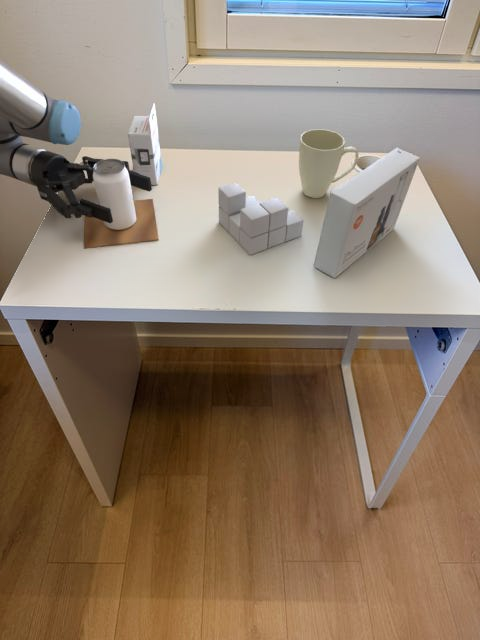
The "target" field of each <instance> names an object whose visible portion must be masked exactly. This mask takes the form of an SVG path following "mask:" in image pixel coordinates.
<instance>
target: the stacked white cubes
mask: <svg viewBox="0 0 480 640" xmlns="http://www.w3.org/2000/svg"><path fill="white" fill-rule="evenodd" d="M217 191H218V223H219V224H220V225H221V226H222V227H223V228H224V229H225V230H226V232H228V234H229V235H230V236H231V237H232V238H233V239H234V240H235V241H236V242H237V243H238V244H239V245H240V247H242V248H243V250H244V251H246V253H247V254H248V255H250V256H251V255H254V254H257V253H259V252H263V251H265V250H267V249H270V248H273V247H275V246H278V245H281V244H284V243H286V242H288V241H291V240H294V239H297V238H299V237H302V235H303V230H304V229H303V228H304V223H305V222H304V221H305V220H304V218H302V216H300V215H299V214H298V213H297V212H296V211H294V210H293V209H290V210H289V207H288V206H287V205H286V204H285V203H284V202H283V201H281V199H279V198H278V197H274V198H271V199H267V200H265V201H260V200H259V199H257V197H255V196H254V195H249V196H247V192H246V190H245V189H243V188H242V187H241V186H240V185H239V184H238V183H237V182H233V183H230V184H226V185H222V186H219V187H218V190H217Z"/></svg>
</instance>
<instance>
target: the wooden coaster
mask: <svg viewBox="0 0 480 640" xmlns="http://www.w3.org/2000/svg"><path fill="white" fill-rule="evenodd" d="M133 201H134V206H135V212H136V222H135V223H134V224H133V225H132V226H131V227H130V228H127V229H124V230H112V229H110V228H108V227H107V226H105V224H104V222H103V221H102V220H100V219H97V218H94V217H92V218H89V217H86V216H84V218H83V219H84V220H83V249H94V248H102V247H110V246H120V245H127V244H128V245H129V244H139V243H148V242H156V241H157V242H158V241H160V239H159V233H158V226H157V225H158V224H157V218H156V212H155V205H154V199H153V198H148V199H137V200H133ZM97 204H98V205H99V203H97Z"/></svg>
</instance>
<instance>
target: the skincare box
mask: <svg viewBox="0 0 480 640" xmlns="http://www.w3.org/2000/svg"><path fill="white" fill-rule="evenodd" d="M420 159H421V157H420V156H417V155H415V154H413V153H411V152H408V151H406V150H403V149H401V148H399V147H395V148H394V149H392V150H391V151H390V152H388V153H387V154H385V155H384V156H382V157H380V158H379V159H378V160H375V162H373V163H371V164H370V165H369V166H367V167H365V168H364V169H362V170H361V171H359V172H358V173H356V174H355V175H353V176H352V177H350V178H349V179H347V180H345V181H344V182H343V183H341V184H340V185H338V186H337V187H335V188H334V189H332V190H331V191H330V192H329V197H328V201H327V205H326V211H325V214H324V219H323V223H322V227H321V231H320V235H319V241H318V245H317V249H316V253H315V257H314V261H313V267H315V268H316V269H318V270H320V271H321V272H323V273H324V274H326V275H328V276H330V277H331V278H333V279H336V278H337V277H338V276H339V275H340V274H342V273H343V272H344V271H346V269H348V268H349V267H350V266H351V265H353V264H354V263H355V262H356V261H357V260H359V259H360V258H361V257H362V256H363V255H364V254H366V253H367V252H368V251H369V250H371V249H372V248H373V247H374V246H375V245H377V244H378V243H379V242H380V241H381V240H382V239H384V238H385V237H386V236H388V235H389V234H390V233H392V231H393V230H394V229H395V227H396V224H397V221H398V219H399V216H400V214H401V211H402V208H403V206H404V203H405V199H406V197H407V195H408V191H409V189H410V186H411V183H412V181H413V179H414V176H415V173H416V170H417V167H418V165H419V162H420Z"/></svg>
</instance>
